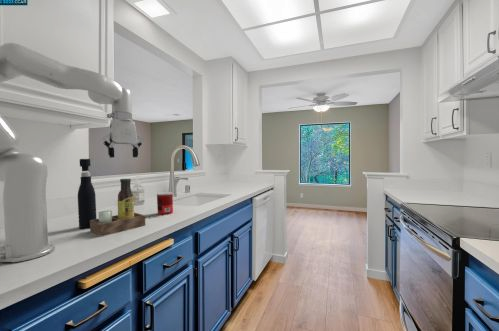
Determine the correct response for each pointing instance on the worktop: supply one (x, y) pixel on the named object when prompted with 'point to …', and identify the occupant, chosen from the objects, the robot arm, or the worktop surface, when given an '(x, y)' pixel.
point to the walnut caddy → (116, 225)
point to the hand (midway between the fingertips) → (124, 157)
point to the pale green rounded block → (105, 217)
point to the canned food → (165, 203)
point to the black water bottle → (86, 197)
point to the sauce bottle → (125, 200)
